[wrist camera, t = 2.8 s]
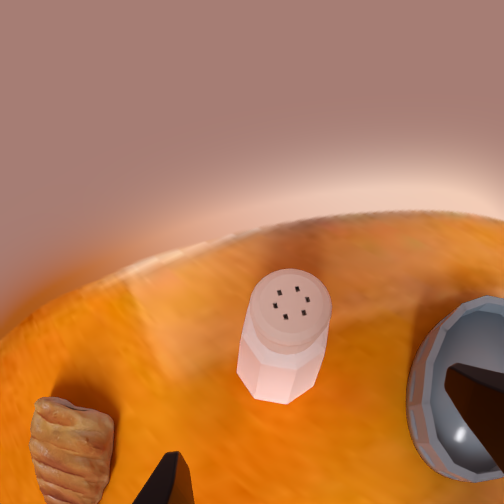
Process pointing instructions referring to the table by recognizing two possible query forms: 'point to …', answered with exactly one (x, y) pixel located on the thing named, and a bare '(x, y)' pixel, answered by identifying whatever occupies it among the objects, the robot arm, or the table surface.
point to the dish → (437, 400)
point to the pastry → (70, 451)
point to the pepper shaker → (284, 335)
